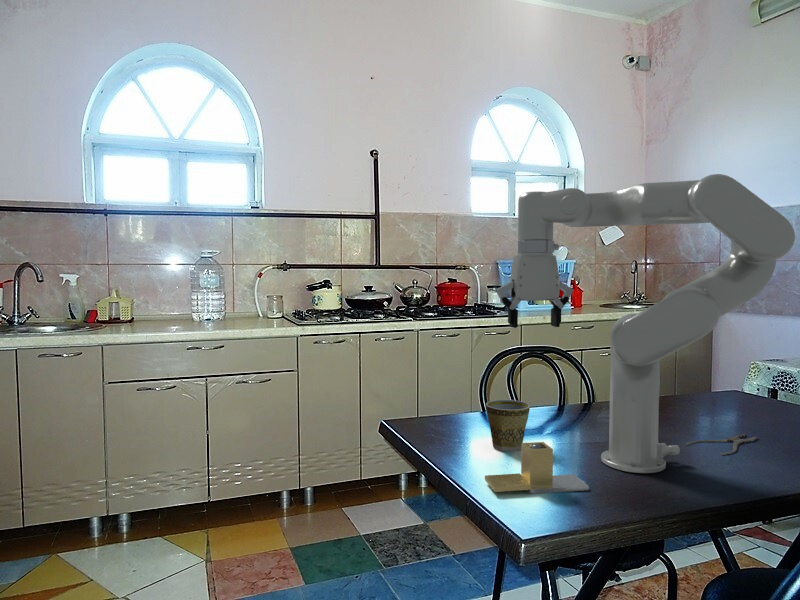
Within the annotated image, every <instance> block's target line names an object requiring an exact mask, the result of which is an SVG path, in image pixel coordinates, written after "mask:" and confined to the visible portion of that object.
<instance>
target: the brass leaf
mask: <svg viewBox="0 0 800 600" xmlns="http://www.w3.org/2000/svg"><path fill="white" fill-rule="evenodd" d="M532 444H541V445H542V449H532ZM520 451H521V458H520V459H521V461H520V463H521V464H520V465H521V467H520V470H521V471H520V473H505V474H488V475H484V481H485V482H486V483H487V485H488V486H489V487H490V489H492V490H493V492H494V493H495V492H496V493H498V492H499V493H500V492H512V491H513V492H514V491H515V492H516V491H527V490H531V489H532V488H534V487H550V486H553V476H554V475H553V473H554V471H553V469H554V467H553V465H554V464H553V463H554V460H553V459H554V450H553V448H552V447H551V446H550V445H549V444H547V443H545V442H544V441H537V442H523V443H521V450H520Z"/></svg>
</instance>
